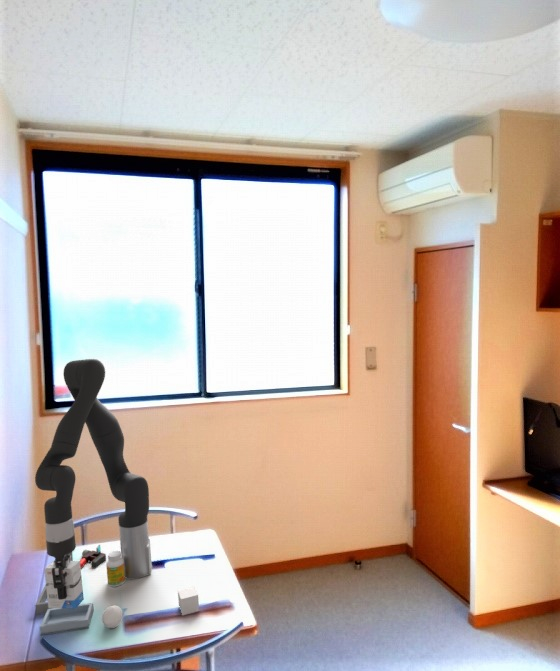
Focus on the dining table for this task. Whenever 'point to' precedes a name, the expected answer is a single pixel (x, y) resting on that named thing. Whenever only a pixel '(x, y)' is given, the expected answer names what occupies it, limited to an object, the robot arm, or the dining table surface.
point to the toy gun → (92, 557)
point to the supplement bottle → (115, 569)
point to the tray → (66, 619)
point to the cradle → (42, 603)
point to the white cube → (188, 600)
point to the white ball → (112, 616)
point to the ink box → (72, 587)
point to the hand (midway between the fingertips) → (65, 591)
